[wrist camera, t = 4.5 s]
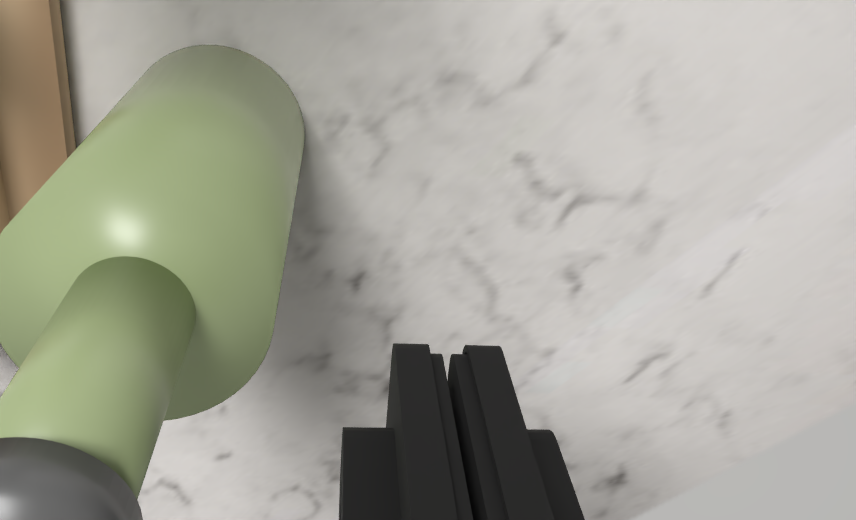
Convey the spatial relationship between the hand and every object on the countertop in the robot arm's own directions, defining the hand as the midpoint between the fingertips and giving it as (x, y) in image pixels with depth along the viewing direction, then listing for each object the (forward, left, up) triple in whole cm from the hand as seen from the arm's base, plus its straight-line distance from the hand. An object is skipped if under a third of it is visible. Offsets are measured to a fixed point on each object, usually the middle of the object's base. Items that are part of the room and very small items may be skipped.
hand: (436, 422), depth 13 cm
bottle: (+5, 0, -13) cm, 14 cm away
